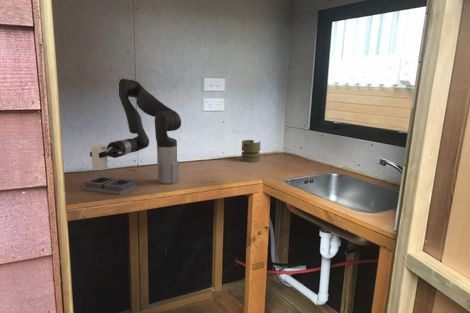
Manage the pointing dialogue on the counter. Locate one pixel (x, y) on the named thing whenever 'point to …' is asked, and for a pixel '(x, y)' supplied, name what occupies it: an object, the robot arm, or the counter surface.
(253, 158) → the piston
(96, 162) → the block
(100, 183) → the grey flat tray
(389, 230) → the counter surface
